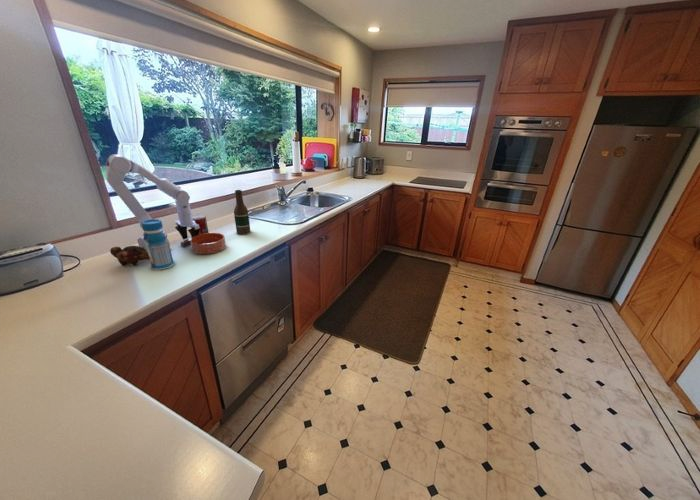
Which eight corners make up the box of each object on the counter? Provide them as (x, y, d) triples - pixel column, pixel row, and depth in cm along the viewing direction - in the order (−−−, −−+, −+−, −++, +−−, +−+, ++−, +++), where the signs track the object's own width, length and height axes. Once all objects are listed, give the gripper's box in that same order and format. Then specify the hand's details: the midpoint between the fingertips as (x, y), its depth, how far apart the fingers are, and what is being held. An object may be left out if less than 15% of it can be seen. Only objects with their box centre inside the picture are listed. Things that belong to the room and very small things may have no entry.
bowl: (207, 257, 129) (205, 246, 126) (185, 251, 134) (182, 240, 132) (232, 246, 141) (231, 236, 139) (211, 240, 147) (209, 230, 144)
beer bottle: (253, 230, 162) (248, 189, 153) (247, 235, 155) (242, 192, 145) (240, 229, 163) (234, 188, 153) (233, 234, 156) (227, 191, 146)
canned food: (204, 238, 149) (201, 218, 145) (190, 237, 149) (185, 218, 145) (211, 233, 156) (208, 214, 152) (197, 232, 156) (193, 213, 152)
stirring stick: (184, 247, 138) (183, 242, 137) (181, 246, 139) (180, 241, 138) (200, 241, 146) (199, 236, 145) (197, 240, 147) (196, 236, 146)
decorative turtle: (118, 259, 124) (114, 242, 121) (157, 259, 128) (155, 242, 125) (106, 269, 115) (102, 250, 112) (149, 268, 119) (146, 250, 116)
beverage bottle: (163, 271, 115) (151, 225, 107) (146, 269, 117) (132, 223, 109) (179, 262, 123) (168, 219, 115) (162, 260, 124) (151, 217, 116)
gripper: (202, 214, 137) (207, 240, 142) (182, 210, 142) (187, 235, 148) (189, 218, 131) (195, 244, 136) (168, 213, 136) (175, 239, 142)
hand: (190, 240), depth 142 cm, fingers open, 7 cm apart
